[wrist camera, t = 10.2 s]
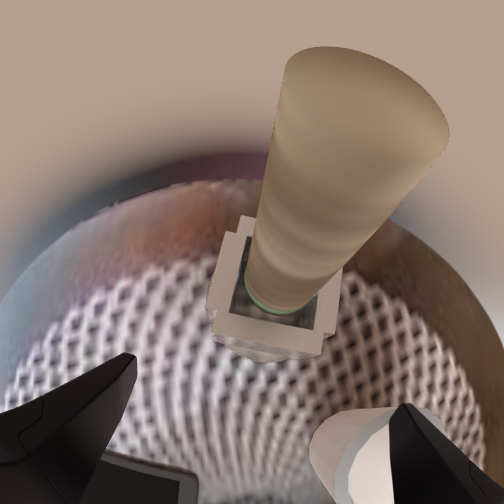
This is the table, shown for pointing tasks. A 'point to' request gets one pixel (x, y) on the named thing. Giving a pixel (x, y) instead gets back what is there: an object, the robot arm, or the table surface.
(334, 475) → the white short cylinder
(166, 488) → the cell phone
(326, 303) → the stand
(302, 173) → the post
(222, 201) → the table surface
